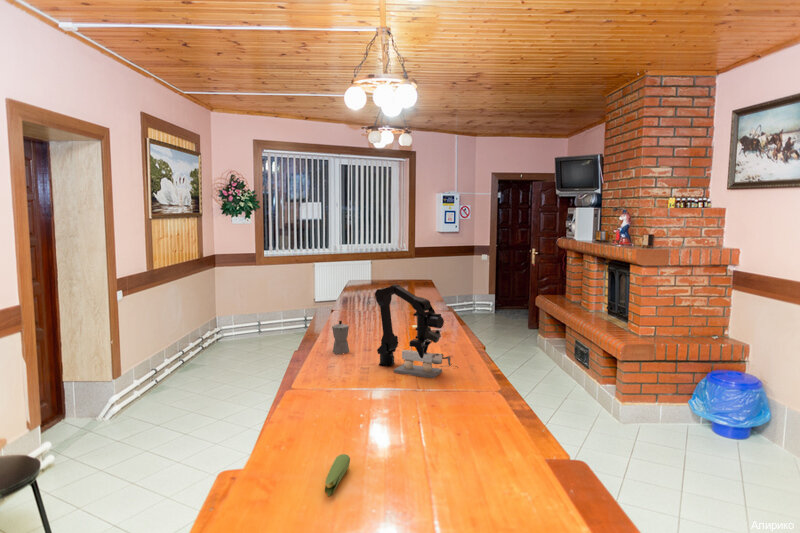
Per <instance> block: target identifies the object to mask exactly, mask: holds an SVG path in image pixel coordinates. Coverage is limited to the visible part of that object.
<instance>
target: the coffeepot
mask: <svg viewBox="0 0 800 533" xmlns="http://www.w3.org/2000/svg"><path fill="white" fill-rule="evenodd" d="M342 322H343V321H342V320H339V321H338V324H337V323H336V324H333V325H332V326H331V330H332V333H333V334H332V335H333V338H334V341H333V347H332V348H333V349H332V353H333V352H334V353H335V354H336V355H344V354H343V353H346V354H349V353H350V348H349V342H348V340H347V338H348V336H349V328H350V325H348V324H345V323H342ZM334 353H333V354H334ZM335 354H334V355H335Z"/></svg>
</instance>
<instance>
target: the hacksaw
mask: <svg viewBox="0 0 800 533" xmlns="http://www.w3.org/2000/svg"><path fill="white" fill-rule="evenodd" d="M441 354H442V360H443V359H447V364H448V367H449V366H451V365H452V363H451V358H452V357H453V358H454V356H453V355H451V356H450V355H447V356H444V354H443V353H441ZM443 356H444V357H443ZM452 366H453V365H452ZM452 366H451V367H452ZM454 366H455V368H456V367H457V368H458V366H456V365H454ZM439 367H445V365H439ZM455 368H453V369H455Z"/></svg>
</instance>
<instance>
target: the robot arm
mask: <svg viewBox="0 0 800 533" xmlns="http://www.w3.org/2000/svg"><path fill="white" fill-rule="evenodd" d="M374 295H375V300H376V303H377V304H378V306H379V310H380V317H381V326H382V336H381V340H380V346H378V348H377V350H376V351H377V354H378V355H379V363H378V366H382V367H383V366H384V367H391V366H393V365H394V364H396V362H395V355H394V353H395V352H396V350H397V347H399V346H398V345H399V339H398V338H399V337H398V335H395V334H394V330H393V323H392V322H393V321H392V315H391V308H390V307H391V306H390V305H391V302H392V296H393V295H395V296H397V297H398V298H400V299H402V300H404V301H405V302H407V303H409V304H410V305H411V307H412V309H414V311H415V313H413V314H412V316H414V317H416V327H415V331H416V335H415V338H413V339H412V340H410V341H409V347H414V348H415V351H417V352H418V354H419V356H420V358H423V353H424V352H427V353H428V349H429V346H430V344H433V343H435V344H436V343H438V342H440V339H441V337H442V336H441V331H440V330H439V329H442V328H443V326H444V318H443V316H442V314H441V313H436V312H435V310H434V307H433V306H432V304H431V301H430V300H429V299H428V298H424V297H421V296H417V295H415V294H413V293H411V292H410V291H409V290H407V289H405V288H403V287H402V286H401V285H400V284H392V285H390V286H388V287H383V288H378V289H377V290H376V291H375V292H374ZM432 328H433V329H437V330H436V331H435V330H432Z"/></svg>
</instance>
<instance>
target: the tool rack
mask: <svg viewBox="0 0 800 533" xmlns="http://www.w3.org/2000/svg"><path fill="white" fill-rule="evenodd" d="M403 360H404V363H403V364H401V365H400V366H398V367H396V368H394V369H393V373H394V374H400V375H408V376H414V377H421V378H429V379H435V378H437V377H438V375H441V374H442V373H443V368H439V367H438V368H437V367H433V363H427V362H422V365H418V364H416V365H415V364H414V361H413V360H405V359H403Z"/></svg>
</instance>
